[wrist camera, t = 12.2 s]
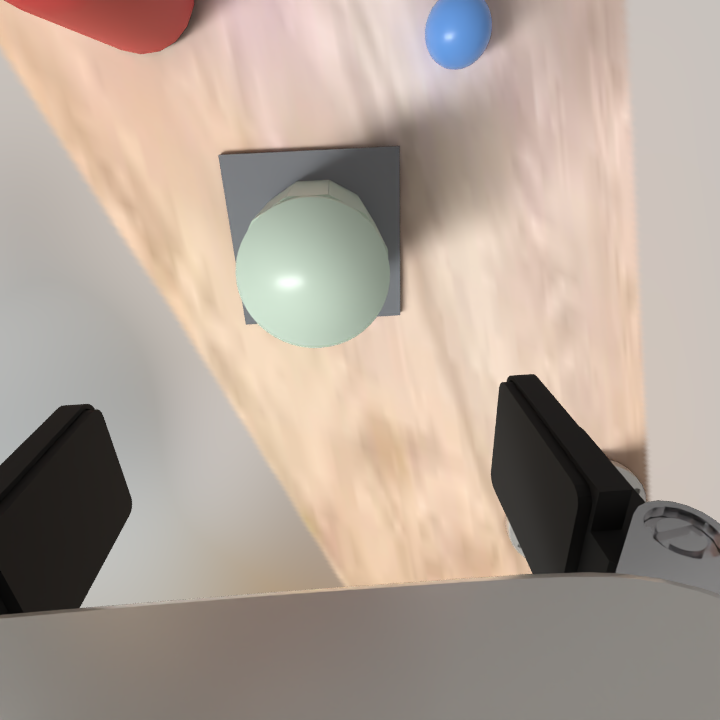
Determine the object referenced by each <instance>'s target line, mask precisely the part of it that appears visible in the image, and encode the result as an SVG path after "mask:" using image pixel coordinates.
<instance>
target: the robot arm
mask: <svg viewBox="0 0 720 720" xmlns="http://www.w3.org/2000/svg"><path fill="white" fill-rule="evenodd" d="M491 479H492V484H493V487H494V490H495V492H496V494H497V496H498V499H499V501H500V503H501V505H502V507H503V510H504V512H505V514H506V530H507V533H508V536H509V538H510V540H511V543H512V545H513V546H514V548H515V549H516V550H517V552H518V553H519V554H521V555H522V556H523V557H525V558H526V560H527V562H528V564H529V567H530V569H531V571H532V573H533V574H522V575H509V576H495V577H478V578H462V579H448V580H434V581H420V582H407V583H393V584H379V585H365V586H351V587H339V588H338V587H337V588H325V589H311V590H298V591H286V592H273V593H261V594H247V595H234V596H221V597H209V598H197V599H183V600H171V601H160V602H147V603H137V604H136V603H135V604H124V605H112V606H100V607H88V608H80V606H81V604H82V602H83V601H84V599H85V597H86V595H87V593H88V591H89V589H90V588H91V586H92V584H93V582H94V580H95V578H96V576H97V575H98V573H99V571H100V569H101V567H102V565H103V563H104V562H105V560H106V558H107V556H108V554H109V552H110V550H111V549H112V547H113V545H114V543H115V541H116V539H117V537H118V536H119V534H120V532H121V530H122V528H123V526H124V524H125V522H126V521H127V519H128V517H129V515H130V513H131V509H132V499H131V496H130V493H129V490H128V487H127V484H126V481H125V478H124V475H123V472H122V469H121V466H120V464H119V461H118V458H117V455H116V452H115V449H114V446H113V443H112V440H111V437H110V434H109V432H108V429H107V426H106V423H105V420H104V417H103V415H102V413H101V412H100V410H95V409H94V407H93V406H92V405H90V404H81V405H65V406H61V407H59V408H58V409H57V410H56V411H55V412H54V413H53V414H52V415H51V416H50V417H49V418H48V419H47V420H46V421H45V422H44V423H43V424H42V425H41V426H40V427H39V428H38V429H37V430H36V431H35V432H34V433H33V434H32V435H30V437H29V438H27V439H26V440H25V441H24V442H23V443H22V444H21V445H20V446H19V447H18V448H17V449H16V450H15V451H14V452H13V453H12V454H11V455H10V456H9V457H8V458H7V459H6V460H5V461H4V462H3V463H2V464H1V465H0V720H720V524H719V523H718V522H717V521H716V520H714V519H713V518H711V517H709V516H708V515H706V514H705V513H703V512H701V511H699V510H696V509H694V508H691V507H689V506H687V505H683V504H679V503H676V502H670V501H659V500H658V501H651V502H646V494H645V491H644V488H643V486H642V484H641V483H640V481H639V480H638V479H637V477H636V476H635V475H634V474H633V473H632V472H631V471H630V470H629V469H628V468H626V467H625V466H623V465H621V464H620V463H618V462H615V461H612V460H609V459H608V458H607V456H606V455H605V454H604V453H603V452H602V451H601V449H600V448H599V447H598V446H597V445H596V444H595V442H594V441H593V440H592V439H591V438H590V437H589V435H588V434H587V433H586V432H585V431H584V430H583V429H582V428H581V427H579V426H578V424H577V423H576V422H575V421H574V420H573V419H572V417H571V416H570V415H569V414H568V413H567V412H566V410H565V409H564V408H563V407H562V406H561V404H560V403H559V402H558V401H557V400H556V399H555V397H554V396H553V395H552V394H551V393H550V391H549V390H548V389H547V388H546V387H545V386H544V384H543V383H542V382H541V381H540V380H539V378H538V377H537V376H536V375H534V374H529V375H514V376H509V377H508V379H507V382H502V383H501V384H500V387H499V396H498V406H497V416H496V426H495V437H494V447H493V457H492V468H491Z"/></svg>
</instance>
